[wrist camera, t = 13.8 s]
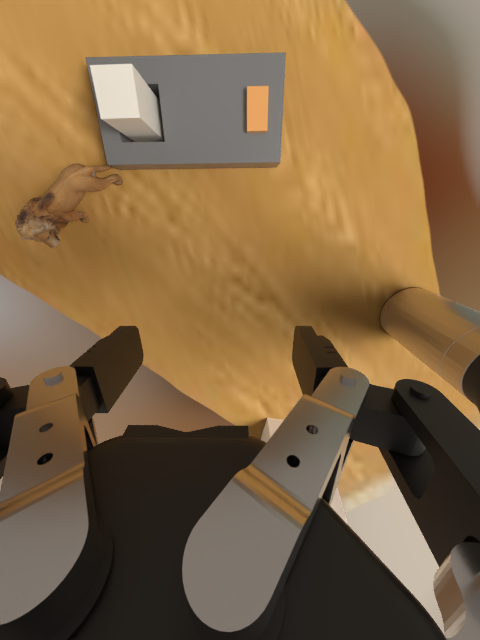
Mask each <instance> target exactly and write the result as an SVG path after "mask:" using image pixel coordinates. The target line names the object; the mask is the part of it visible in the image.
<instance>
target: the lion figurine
mask: <svg viewBox="0 0 480 640" xmlns="http://www.w3.org/2000/svg"><path fill="white" fill-rule="evenodd" d="M111 167H112V166H109V165H103V166H88V167H85V166H83V165H80V164H73V165H71V166H69V167H67V168H66V169H64V170H63V171H62V173H61V175H60V177H59V179H58V180H57V181H56V182H55V183H54V184H53V185H52V186H51V187H50V188H49V189H48V190H47V191H46V192H45V194H44V195H42V196H40V197H38V198H33V199H31V200H30V201H29V202H28V203H27V204H26V206H24V208H23V209H21V212H20V215H18V216H17V220H16V226H17V231H18V232H19V233H20V235H21V236H22V240H24V239H27V240H36V241H37V242H44V243H45V244H47V245H48V246H49V247H50V248H56V246H57V245H58V244H59V241H60V240H59V238H58V237H57V236H56V234H58V233H59V232H60V229H61V228H64V227H65V226H66V225H67V224H68V222H70V221H76V220H78V219H80V220H81V222H84V223H85V222H88V216H87V215H86V214H85V213H84V212H75V211H74V210H73V209H74V208H75V207H76V206H77V205H78V204H79V202H80V201H81V200H82V198H83V196H84V192H85V191H86V192H95V191H99V190H102V189H104V188H106V187H108V186H109V185H110V184H112V183H113V182H114V184H116V185H121V184H122V178H121V177H120V176H119V175H118V174H114V175H110V176H109V177H108V178H104V179H99V178H97V177H95V172H96V171H104V170H107V169H109V168H111Z"/></svg>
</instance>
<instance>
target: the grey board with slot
mask: <svg viewBox="0 0 480 640" xmlns="http://www.w3.org/2000/svg"><path fill="white" fill-rule="evenodd" d="M285 57H286V53H249V54H208V55H167V56H126V57H86V62H87V67H88V72H89V76H90V81H91V86H92V91H93V96H94V101H95V106H96V111H97V116H98V121H99V125H100V130H101V135H102V140H103V145H104V150H105V155H106V160H107V165H109V166H112V167H115V168H117V169H120V170H135V169H202V168H269V167H277V166H278V165H279V163H280V156H281V136H282V116H283V97H284V77H285ZM107 64H132V65H133V66H134V67H135V69H136V70H137V71H138V73H139V74H140V75H141V77H142V78H143V79H144V81H145V82H146V83H147V85H148V86H149V88H150V89H151V90H152V92H153V93H154V94H155V96H156V97H157V98H160V104H161V113H162V121H163V130H164V139H165V142H132V140H131V139H130V138H129V137H127V136H126V135H124V134H123V133H121V132H120V131H118V130H117V129H115V128H114V127H112V126H111V125H109V124H108V123H106V122H105V121H103V120H102V119H101V117H100V112H99V108H98V103H97V98H96V93H95V88H94V83H93V78H92V74H91V69H90V65H107Z"/></svg>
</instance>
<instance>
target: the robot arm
mask: <svg viewBox="0 0 480 640" xmlns="http://www.w3.org/2000/svg"><path fill="white" fill-rule="evenodd" d="M380 323H381V325H382V328H383V329H384V330H385V331H386V332H387V333H388V334H390V335H391V336H392V337H393V338H394V339H396V340H397V341H398V342H399V343H400V344H401V345H403V346H404V347H405V348H406V349H408V350H409V351H410V352H411V353H412V354H414V355H415V356H416V357H417V358H419V359H420V360H421V361H422V362H423V363H425V364H426V365H427V366H428V367H429V368H431V369H432V370H433V371H434V372H436V373H437V374H438V375H439V376H440V377H442V378H443V379H444V380H445V381H447V382H448V383H449V384H450V385H452V386H453V387H454V388H455V389H456V390H458V391H459V392H460V393H461V394H463V395H464V396H465V397H466V398H467V399H469V400H470V401H471V402H472V403H474V404H475V405H476V406H477V408H478V410H479V412H480V312H478V311H475V310H473V309H470V308H468V307H465V306H463V305H461V304H458V303H456V302H454V301H451V300H449V299H446V298H444V297H442V296H439V295H437V294H434V293H432V292H430V291H427V290H425V289H421V288H409V289H405V290H402V291H400V292H398V293H396V294H395V295H393V296H392V297H391V298H390V299H389V300H388V301H387V302H386V303H385V305H384V307H383V308H382V311H381V315H380ZM292 361H293V366H294V369H295V372H296V375H297V378H298V381H299V384H300V387H301V390H302V393H303V396H302V397H301V399H300V400H299V401H298V402H297V404H296V405H295V406H294V408H293V409H292V410H291V412H290V413H289V414H288V416H287V417H286V418H285V419H284V421H283V422H282V423H281V425H280V426H279V427H278V429H277V430H276V431H275V433H274V434H273V435H272V437H271V438H270V439H269V440H268V442H267V443H266V442H264V441H262V440H260V439H257V438H255V437H251V436H248V426H215V427H210V428H205V429H201V430H196V431H192V432H182V431H178V430H174V429H170V428H166V427H162V426H158V425H128V427H127V429H126V430H125V432H124V434H123V436H119V437H115V438H112V439H109V440H107V441H104V442H102V443H100V444H98V438H97V434H96V429H95V424H94V420H93V418H92V416H93V415H94V414H95V413H108V412H109V411H110V409H111V408H112V406H113V405H114V404H115V402H116V401H117V399H118V398H119V396H120V395H121V393H122V392H123V391H124V389H125V388H126V386H127V385H128V383H129V382H130V380H131V379H132V377H133V376H134V375H135V373H136V372H137V370H138V369H139V367H140V366H141V364H142V362H143V349H142V344H141V340H140V335H139V330H138V328H137V327H136V326H119V327H118V328H117V329H116V330H115V331H113V332H112V333H111V334H110V335H109V336H107V337H105V338H103V339H101V340H99V341H98V342H97V343H96V344H95V345H93V346H92V347H91V348H90V349H89V350H87V352H86V353H84V354H83V355H82V356H80V357H79V358H78V359H77V360H76V361H75V362H73V363H72V364H71V365H70V366H64V367H57V368H53V369H50V370H47V371H45V372H43V373H41V374H39V375H38V376H36V377H35V378H34V379H33V380H32V381H31V383H30V385H26V386H21V387H15V388H10V386H9V384H8V382H7V381H6V379H4V378H0V479H1V478H2V476H3V480H2V485H1V491H0V640H480V430H479V429H478V428H477V427H476V426H475V425H474V424H473V423H472V422H470V421H469V420H468V419H467V418H466V417H465V416H464V415H463V414H462V413H461V412H460V411H459V410H458V409H457V408H456V407H455V406H454V405H453V404H452V403H451V402H450V401H449V400H448V399H447V398H446V397H445V396H444V395H443V394H442V393H441V392H440V391H438V390H437V389H436V388H434V387H432V386H430V385H428V384H426V383H423V382H420V381H417V380H412V379H402V380H399V381H397V382H396V385H395V388H394V389H390V388H385V387H380V386H375V385H372V384H369V380H368V378H367V377H366V376H365V375H364V374H362V373H361V372H359V371H357V370H355V369H352V368H348V366H347V365H346V363H345V362H344V361H343V359H342V358H341V356H340V355H339V353H337V350H336V349H335V348H334V346H333V344H332V343H331V342H330V340H328V339H327V338H325V337H324V336H317V335H316V333H315V331H314V330H313V328H312V326H296V327H295V331H294V341H293V352H292ZM354 440H355V441H358V442H362V443H365V444H369V445H372V446H376V447H378V448H379V450H380V452H381V454H382V456H383V457H384V459H385V461H386V463H387V465H388V467H389V469H390V471H391V473H392V475H393V477H394V479H395V481H396V483H397V485H398V487H399V489H400V491H401V493H402V495H403V497H404V499H405V501H406V503H407V505H408V506H409V508H410V510H411V512H412V514H413V516H414V518H415V520H416V522H417V524H418V526H419V528H420V530H421V532H422V534H423V536H424V538H425V540H426V542H427V544H428V546H429V548H430V549H431V552H432V554H433V555H434V557H435V559H436V561H437V563H438V565H439V567H440V568H439V569H438V570H437V572H436V573H435V576H434V582H433V585H434V593H435V597H436V600H437V603H438V606H439V608H440V611H441V614H442V618H443V623H444V631H445V635H444V634H443V633H442V631H441V630H440V628H439V627H438V625H437V624H436V623H435V621H434V620H433V618H432V617H431V616H430V614H429V613H428V612H427V611H426V609H425V608H424V607H423V606H422V605H421V603H420V602H419V601H418V600H417V599H416V598H415V597H414V595H413V594H411V592H410V591H409V590H408V589H407V588H406V587H405V586H404V585H403V584H402V583H401V581H400V580H398V578H397V577H396V576H395V575H394V574H393V573H392V572H391V571H390V570H389V569H388V568H387V566H386V565H385V564H384V563H383V562H382V561H381V560H380V559H379V558H378V557H377V556H376V555H375V554H374V553H373V551H372V550H371V549H370V548H369V547H368V546H367V545H366V544H365V543H364V542H363V541H362V540H361V539H360V537H359V536H358V535H357V534H356V533H355V532H354V531H353V530H352V529H351V528H350V527H349V526H348V525H347V523H346V522H345V521H344V520H343V519H342V518H341V517H340V516H339V515H338V514H337V513H336V512H335V511H334V510H333V508H332V507H331V503H332V500H333V497H334V494H335V491H336V488H337V485H338V482H339V479H340V476H341V474H342V471H343V468H344V466H345V463H346V461H347V458H348V455H349V453H350V450H351V448H352V445H353V442H354Z"/></svg>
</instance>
